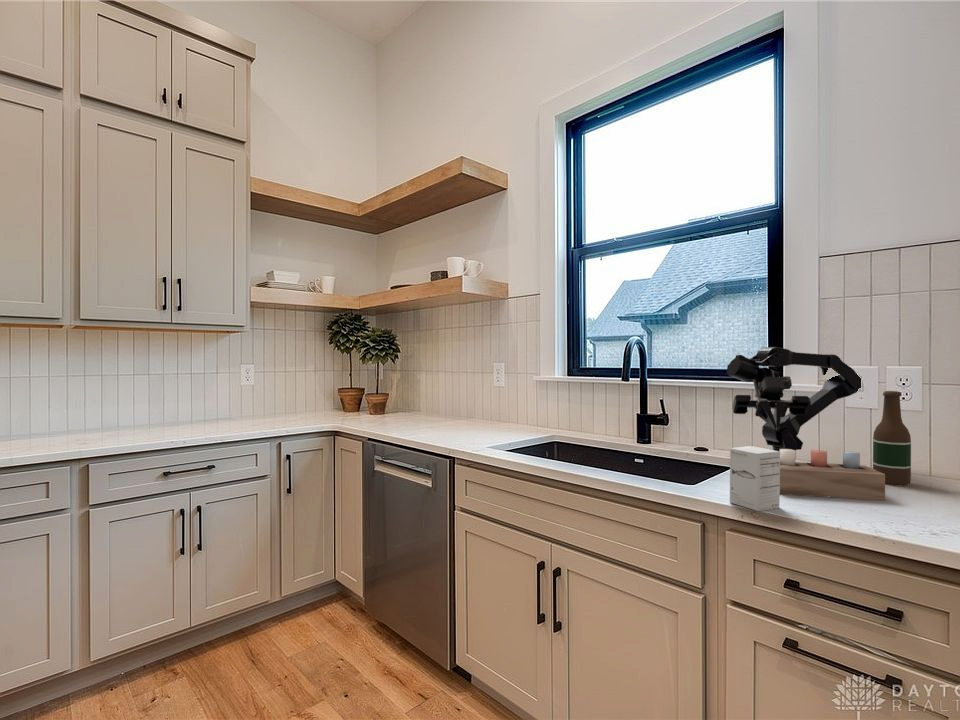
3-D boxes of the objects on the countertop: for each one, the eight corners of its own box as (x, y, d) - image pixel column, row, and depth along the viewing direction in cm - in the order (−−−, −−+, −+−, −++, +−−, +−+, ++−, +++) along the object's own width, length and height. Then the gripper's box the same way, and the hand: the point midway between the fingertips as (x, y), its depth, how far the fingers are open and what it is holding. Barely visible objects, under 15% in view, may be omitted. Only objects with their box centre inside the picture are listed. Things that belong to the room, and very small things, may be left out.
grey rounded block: (840, 467, 128) (840, 451, 128) (856, 468, 128) (856, 451, 128) (846, 470, 125) (846, 453, 125) (862, 471, 124) (862, 454, 124)
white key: (777, 464, 132) (777, 448, 132) (792, 465, 131) (792, 449, 131) (781, 467, 129) (782, 450, 129) (797, 468, 128) (797, 451, 128)
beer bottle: (873, 477, 141) (873, 389, 140) (910, 481, 136) (911, 391, 135) (872, 483, 134) (872, 391, 134) (911, 487, 130) (911, 392, 129)
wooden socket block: (766, 483, 134) (766, 460, 134) (864, 489, 128) (865, 465, 128) (778, 493, 124) (778, 469, 124) (885, 500, 118) (885, 474, 118)
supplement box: (728, 503, 116) (728, 447, 116) (751, 499, 119) (751, 445, 119) (757, 512, 110) (757, 453, 110) (781, 508, 113) (781, 450, 113)
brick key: (808, 466, 130) (808, 449, 130) (824, 467, 129) (824, 450, 129) (813, 469, 127) (813, 452, 127) (829, 469, 126) (829, 452, 126)
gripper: (734, 366, 146) (743, 409, 136) (808, 366, 142) (824, 410, 131) (728, 392, 154) (736, 434, 144) (799, 393, 149) (812, 437, 139)
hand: (776, 428), depth 139 cm, fingers closed
